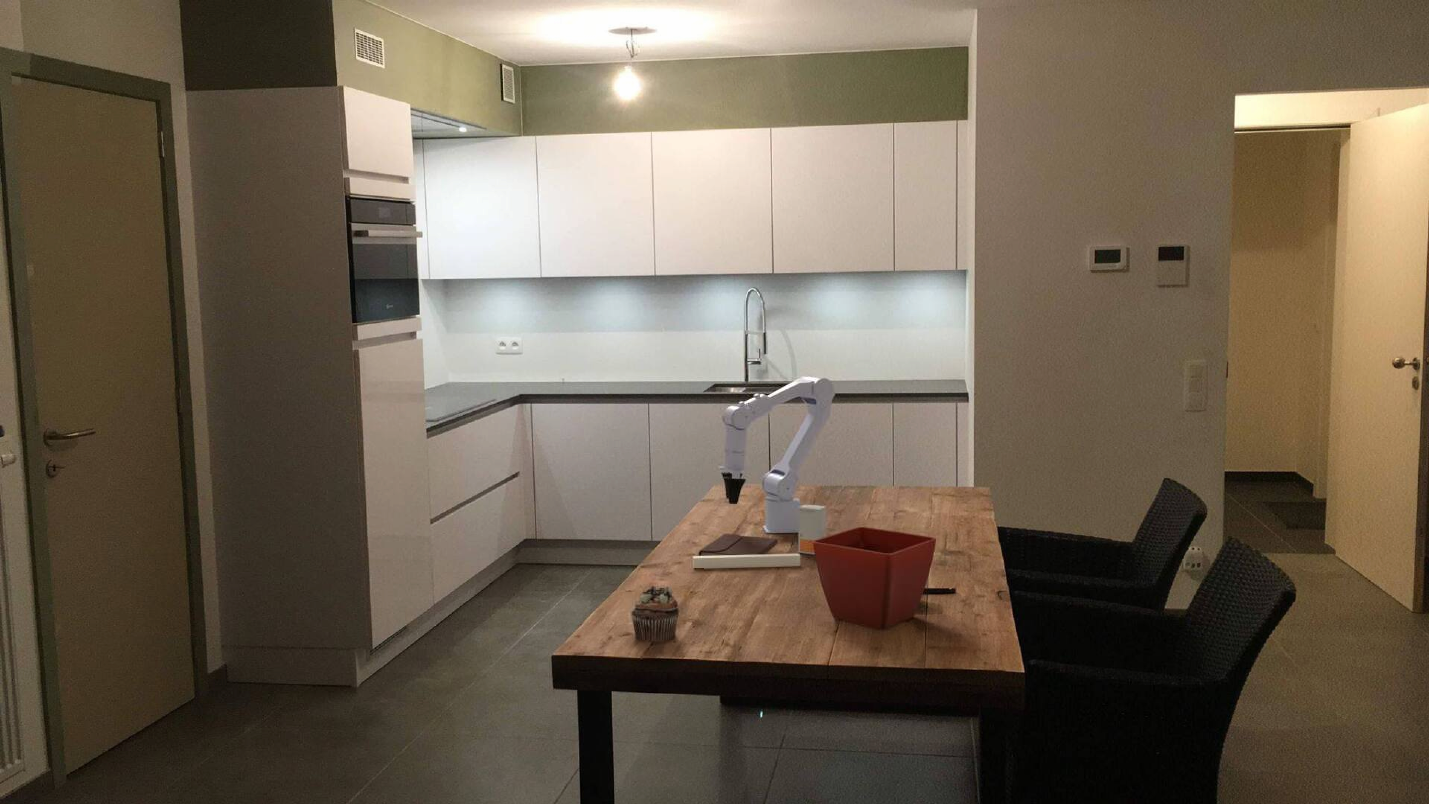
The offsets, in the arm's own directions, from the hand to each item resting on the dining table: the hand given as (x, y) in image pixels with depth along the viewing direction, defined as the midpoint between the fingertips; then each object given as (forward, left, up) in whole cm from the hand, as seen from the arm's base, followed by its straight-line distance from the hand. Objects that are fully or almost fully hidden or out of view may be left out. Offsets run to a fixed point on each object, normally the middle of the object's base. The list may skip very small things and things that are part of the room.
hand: (731, 501), depth 335 cm
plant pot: (-23, +78, -10) cm, 81 cm away
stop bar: (-1, +33, -10) cm, 34 cm away
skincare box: (-19, +21, -10) cm, 29 cm away
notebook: (0, +15, -10) cm, 18 cm away
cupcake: (+23, +86, -10) cm, 89 cm away
